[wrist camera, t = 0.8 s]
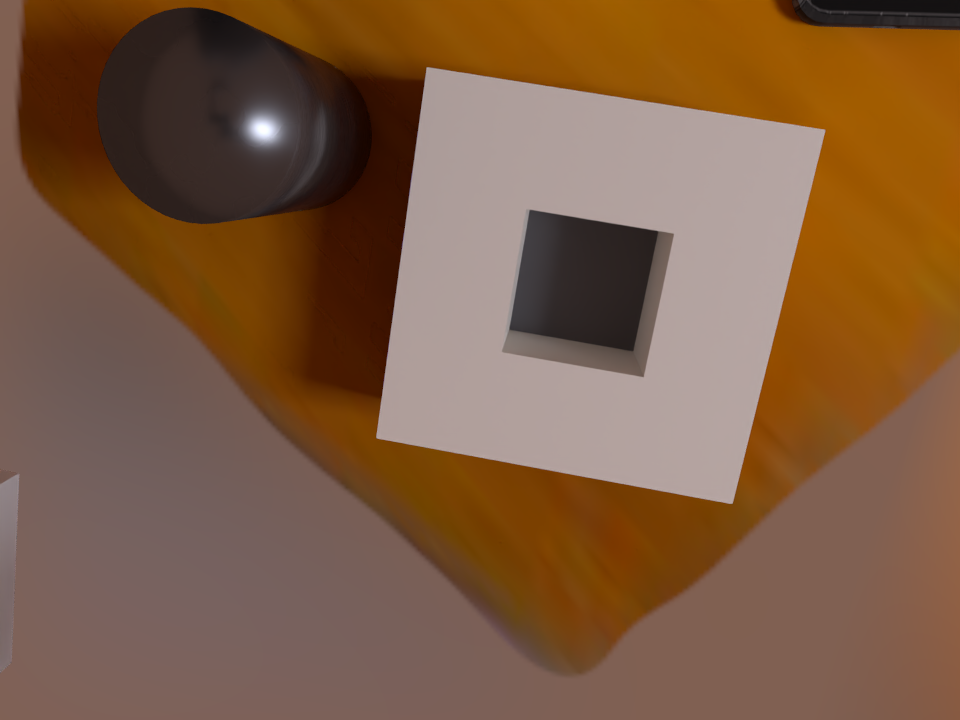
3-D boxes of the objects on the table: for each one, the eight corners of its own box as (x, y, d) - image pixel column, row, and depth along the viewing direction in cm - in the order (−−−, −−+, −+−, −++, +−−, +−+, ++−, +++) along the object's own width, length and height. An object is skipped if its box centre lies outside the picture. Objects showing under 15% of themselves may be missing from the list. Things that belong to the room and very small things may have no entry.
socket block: (446, 82, 34) (426, 67, 29) (786, 136, 33) (825, 129, 28) (400, 403, 37) (376, 438, 32) (709, 460, 36) (732, 504, 32)
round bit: (231, 43, 34) (102, -8, 25) (380, 66, 34) (308, 24, 24) (219, 196, 36) (91, 205, 26) (361, 221, 36) (286, 239, 26)
